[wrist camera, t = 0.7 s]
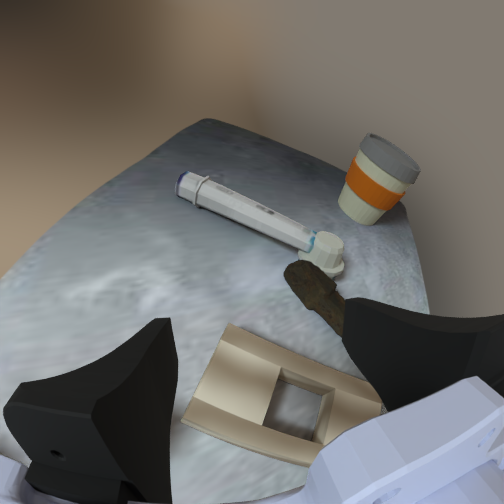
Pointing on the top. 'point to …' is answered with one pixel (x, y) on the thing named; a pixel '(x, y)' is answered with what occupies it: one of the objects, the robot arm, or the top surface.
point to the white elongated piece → (264, 221)
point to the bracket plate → (260, 392)
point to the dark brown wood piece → (317, 292)
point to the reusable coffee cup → (376, 180)
